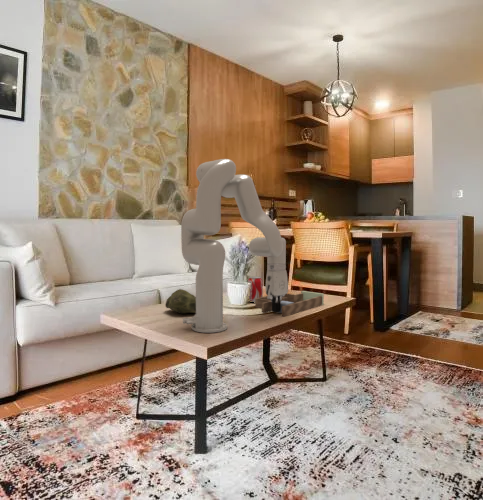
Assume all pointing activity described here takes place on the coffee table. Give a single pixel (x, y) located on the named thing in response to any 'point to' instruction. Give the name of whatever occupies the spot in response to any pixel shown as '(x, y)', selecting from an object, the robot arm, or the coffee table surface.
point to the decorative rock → (181, 302)
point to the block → (284, 304)
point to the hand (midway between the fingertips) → (276, 311)
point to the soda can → (255, 287)
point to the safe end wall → (312, 295)
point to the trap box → (291, 308)
